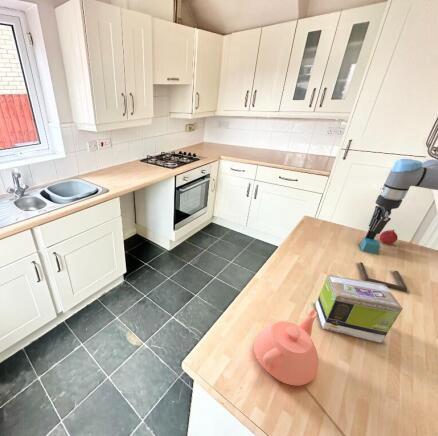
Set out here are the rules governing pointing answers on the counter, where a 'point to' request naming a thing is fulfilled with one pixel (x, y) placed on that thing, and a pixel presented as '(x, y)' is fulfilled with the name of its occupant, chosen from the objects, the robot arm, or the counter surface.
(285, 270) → the counter surface
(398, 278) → the frame
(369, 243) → the teal block
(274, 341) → the teapot
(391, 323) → the tea box
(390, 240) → the onion
